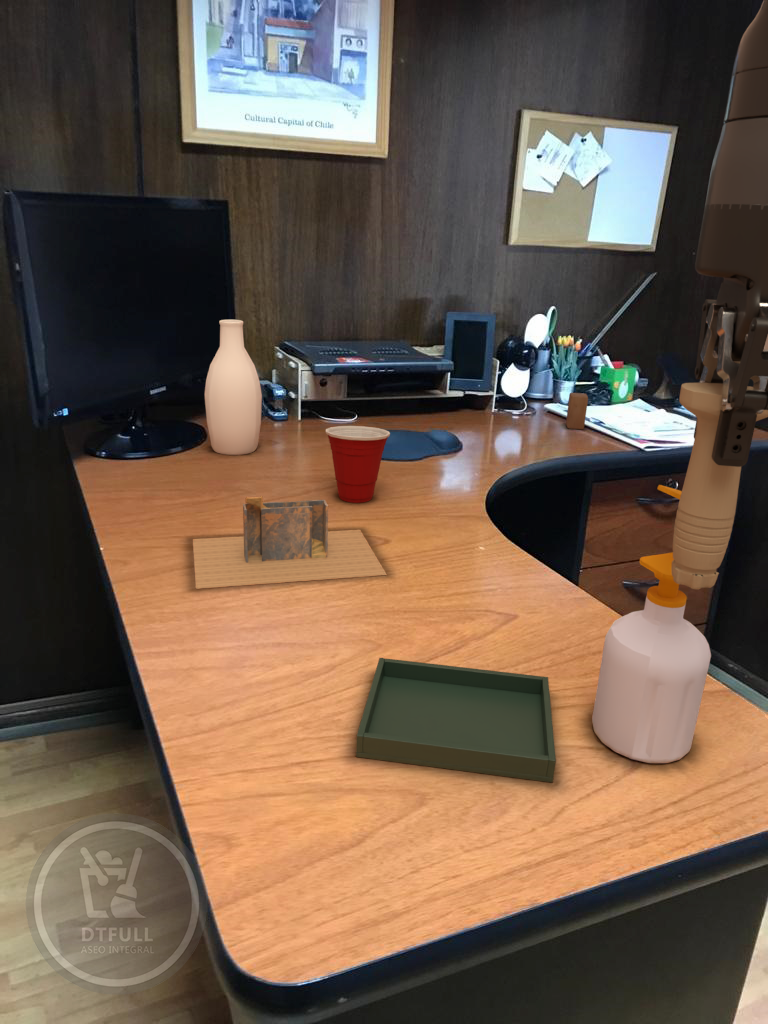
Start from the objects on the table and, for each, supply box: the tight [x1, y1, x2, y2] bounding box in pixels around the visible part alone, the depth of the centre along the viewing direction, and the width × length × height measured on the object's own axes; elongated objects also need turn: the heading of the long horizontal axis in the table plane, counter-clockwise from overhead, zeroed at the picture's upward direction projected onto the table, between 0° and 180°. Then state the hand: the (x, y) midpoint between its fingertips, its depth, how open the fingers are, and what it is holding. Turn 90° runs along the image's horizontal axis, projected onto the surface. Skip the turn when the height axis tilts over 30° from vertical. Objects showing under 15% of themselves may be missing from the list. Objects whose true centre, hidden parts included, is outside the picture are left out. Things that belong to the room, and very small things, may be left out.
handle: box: [671, 382, 768, 590], centre depth 57 cm, size 5×6×15 cm
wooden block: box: [565, 392, 589, 430], centre depth 185 cm, size 4×4×8 cm
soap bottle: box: [591, 484, 712, 764], centre depth 69 cm, size 9×9×25 cm
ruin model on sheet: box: [192, 495, 388, 590], centre depth 106 cm, size 25×16×10 cm, turn 104°
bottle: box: [204, 319, 263, 456], centre depth 152 cm, size 11×11×25 cm
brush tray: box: [355, 657, 557, 783], centre depth 73 cm, size 17×13×2 cm
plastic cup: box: [325, 425, 391, 504], centre depth 131 cm, size 11×11×12 cm
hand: (718, 452), depth 56 cm, fingers closed on handle, 5 cm apart
